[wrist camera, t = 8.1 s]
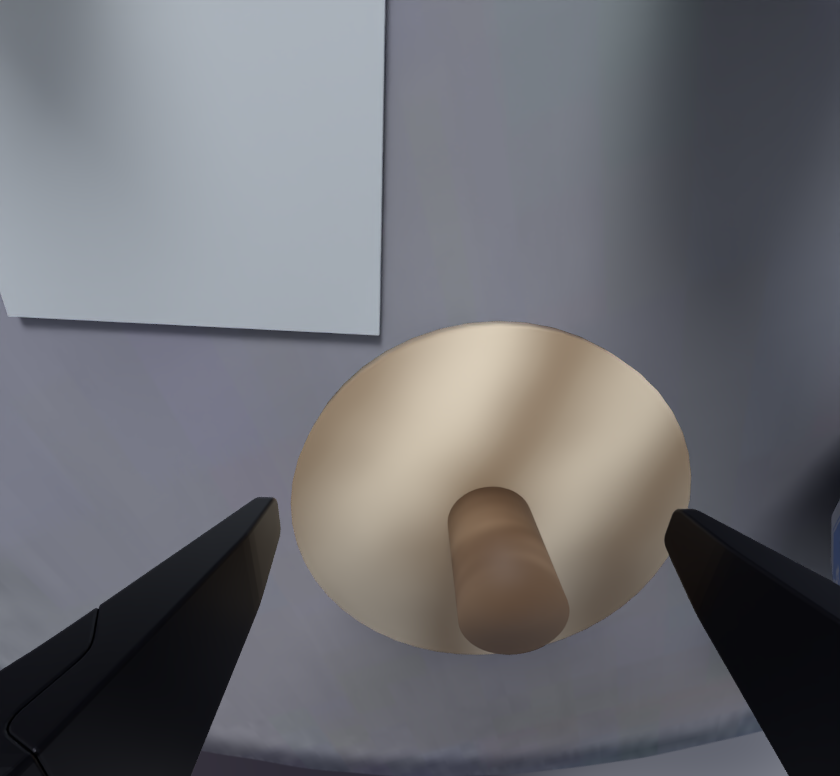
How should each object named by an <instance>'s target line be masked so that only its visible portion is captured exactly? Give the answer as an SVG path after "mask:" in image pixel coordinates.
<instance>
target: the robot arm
mask: <svg viewBox="0 0 840 776" xmlns="http://www.w3.org/2000/svg"><path fill="white" fill-rule="evenodd" d="M279 537H280V519H279V511H278V504H277V501H276V499H275V498H271V497H257V498H255V499H253V500H252V501H251V502H249V503H248V504H246V505H245V506H243V507H242V508H240V509H239V510H238V511H236V512H235V513H233V514H232V515H230V516H229V517H227V518H226V519H224V520H223V521H222V522H220V523H219V524H217V525H216V526H214V527H213V528H211V529H210V530H208V531H207V532H206V533H204V534H203V535H201V536H200V537H198V538H197V539H195V540H194V541H192V542H191V543H190V544H188V545H187V546H185V547H184V548H182V549H181V550H179V551H178V552H176V553H175V554H174V555H172V556H171V557H169V558H168V559H166V560H165V561H163V562H162V563H160V564H159V565H158V566H156V567H155V568H153V569H152V570H150V571H149V572H147V573H146V574H144V575H143V576H142V577H140V578H139V579H137V580H136V581H134V582H133V583H131V584H130V585H128V586H127V587H126V588H124V589H123V590H121V591H120V592H118V593H117V594H115V595H114V596H113V597H111V598H110V599H108V600H107V601H105V602H104V603H102V604H101V605H100V606H99V609H98V608H95V609H93V610H92V611H90V612H89V613H88V614H86V615H85V616H83V617H82V618H80V619H79V620H77V621H76V622H74V623H73V624H72V625H70V626H69V627H67V628H66V629H64V630H63V631H61V632H60V633H58V634H57V635H55V636H54V637H52V638H51V639H49V640H48V641H46V642H45V643H43V644H42V645H40V646H39V647H37V648H36V649H34V650H32V651H31V652H29V653H28V654H26V655H24V656H23V657H21V658H20V659H18V660H16V661H15V662H13V663H12V664H10V665H8V666H7V667H5V668H4V669H2V670H1V671H0V776H191V774H192V772H193V769H194V767H195V764H196V762H197V759H198V757H199V754H200V752H201V749H202V747H203V744H204V742H205V739H206V737H207V735H208V732H209V730H210V727H211V725H212V722H213V720H214V717H215V715H216V712H217V710H218V707H219V705H220V703H221V700H222V698H223V695H224V693H225V690H226V688H227V685H228V683H229V680H230V678H231V675H232V673H233V670H234V668H235V666H236V663H237V661H238V658H239V656H240V653H241V651H242V648H243V646H244V643H245V641H246V638H247V636H248V633H249V631H250V629H251V626H252V624H253V621H254V619H255V616H256V614H257V611H258V608H259V606H260V603H261V600H262V596H263V593H264V590H265V586H266V583H267V579H268V576H269V572H270V569H271V565H272V562H273V558H274V555H275V551H276V548H277V544H278V541H279ZM664 544H665V547H666V550H667V552H668V554H669V556H670V558H671V561H672V563H673V565H674V567H675V569H676V572H677V574H678V576H679V578H680V580H681V582H682V585H683V587H684V589H685V591H686V593H687V595H688V598H689V600H690V602H691V604H692V606H693V608H694V610H695V612H696V614H697V616H698V618H699V620H700V622H701V623H702V625H703V627H704V629H705V631H706V632H707V634H708V636H709V638H710V639H711V641H712V643H713V644H714V646H715V648H716V650H717V651H718V653H719V655H720V657H721V658H722V660H723V662H724V664H725V665H726V667H727V669H728V671H729V672H730V674H731V676H732V678H733V679H734V681H735V683H736V685H737V686H738V688H739V690H740V692H741V693H742V695H743V697H744V699H745V700H746V702H747V704H748V706H749V707H750V709H751V711H752V712H753V714H754V716H755V718H756V719H757V721H758V723H759V725H760V726H761V728H762V730H763V732H764V733H765V735H766V737H767V739H768V740H769V742H770V744H771V746H772V747H773V749H774V751H775V752H776V754H777V756H778V758H779V759H780V761H781V763H782V765H783V767H784V768H785V770H786V772H787V774H788V775H789V776H840V585H838V584H836V583H834V582H832V581H830V580H828V579H826V578H825V577H823V576H821V575H819V574H817V573H815V572H813V571H811V570H810V569H808V568H806V567H804V566H802V565H800V564H798V563H796V562H794V561H793V560H791V559H789V558H787V557H785V556H783V555H781V554H779V553H777V552H776V551H774V550H772V549H770V548H768V547H766V546H764V545H762V544H760V543H759V542H757V541H755V540H753V539H751V538H749V537H747V536H745V535H743V534H742V533H740V532H738V531H736V530H734V529H732V528H730V527H728V526H726V525H725V524H723V523H721V522H719V521H717V520H715V519H713V518H711V517H709V516H708V515H706V514H704V513H702V512H700V511H698V510H695V509H676V510H675V511H674V512H673V513H672V516H671V519H670V521H669V524H668V527H667V530H666V533H665V536H664Z"/></svg>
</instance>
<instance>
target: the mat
mask: <svg viewBox="0 0 840 776" xmlns="http://www.w3.org/2000/svg"><path fill="white" fill-rule="evenodd" d="M385 20H386V0H0V293H1V296H2V299H3V302H4V305H5V308H6V311H7V314H8V316H11V317H30V318H50V319H69V320H89V321H108V322H128V323H147V324H167V325H186V326H206V327H225V328H245V329H264V330H284V331H303V332H323V333H342V334H362V335H379V334H380V303H381V247H382V190H383V133H384V77H385Z"/></svg>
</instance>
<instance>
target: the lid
mask: <svg viewBox="0 0 840 776" xmlns="http://www.w3.org/2000/svg"><path fill="white" fill-rule="evenodd" d="M690 486H691V471H690V461H689V453H688V450H687V446H686V443H685V439H684V436H683V432H682V430H681V428H680V426H679V424H678V422H677V420H676V418H675V416H674V414H673V412H672V410H671V409H670V407H669V406H668V405H667V403H666V402H665V400H664V399H663V398H662V396H661V395H660V394H659V392H658V391H657V390H656V389H655V388H654V387H653V386H652V385H651V384H650V383H649V382H648V381H647V380H646V379H645V378H644V377H643V376H642V375H641V374H640V373H639V372H637V371H636V370H634V369H633V368H632V367H630V366H629V365H627V364H626V363H625V362H623V361H622V360H620V359H619V358H618V357H616V356H614V355H613V354H611V353H610V352H608V351H607V350H605V349H603V348H601V347H599V346H597V345H595V344H593V343H591V342H590V341H588V340H586V339H584V338H582V337H579V336H576V335H573V334H570V333H568V332H565V331H562V330H559V329H556V328H552V327H546V326H541V325H536V324H531V323H523V322H505V321H491V322H478V323H467V324H462V325H457V326H452V327H447V328H442V329H438V330H435V331H432V332H429V333H426V334H424V335H421V336H418V337H415V338H412V339H410V340H408V341H406V342H404V343H402V344H400V345H398V346H396V347H394V348H392V349H390V350H388V351H386V352H384V353H383V354H381V355H380V356H378V357H377V358H375V359H374V360H372V361H371V362H369V363H368V364H366V365H365V366H363V367H362V368H361V369H360V370H359V371H358V372H357V373H355V374H354V375H353V376H352V377H351V378H350V379H349V380H348V381H346V382H345V383H344V384H343V385H342V387H341V388H340V389H339V390H338V391H337V392H336V394H335V395H334V396H333V397H332V398H331V400H330V401H329V402H328V403H327V405H326V406H325V408H324V409H323V411H322V413H321V414H320V416H319V417H318V419H317V421H316V422H315V424H314V426H313V428H312V430H311V432H310V434H309V435H308V438H307V440H306V442H305V444H304V447H303V449H302V451H301V454H300V456H299V458H298V462H297V466H296V470H295V474H294V478H293V484H292V495H291V511H292V524H293V528H294V532H295V537H296V541H297V545H298V547H299V549H300V552H301V554H302V557H303V559H304V562H305V564H306V565H307V567H308V569H309V570H310V572H311V574H312V575H313V577H314V579H315V580H316V582H317V583H318V584H319V585H320V586H321V588H322V589H323V590H324V591H325V593H326V594H327V595H328V596H329V597H330V598H331V599H332V600H333V601H334V602H335V603H336V604H337V605H338V606H339V607H340V608H341V609H342V610H344V611H345V612H346V613H348V614H349V615H350V616H352V617H353V618H355V619H356V620H357V621H359V622H360V623H362V624H364V625H365V626H367V627H369V628H371V629H372V630H374V631H376V632H378V633H380V634H382V635H385V636H387V637H389V638H391V639H394V640H396V641H399V642H402V643H405V644H408V645H412V646H415V647H419V648H423V649H428V650H432V651H437V652H445V653H454V654H473V655H483V654H506V655H511V654H521V653H526V652H530V651H533V650H536V649H538V648H541V647H543V646H545V645H546V644H549V643H552V642H555V641H558V640H561V639H564V638H567V637H569V636H571V635H574V634H576V633H578V632H580V631H583V630H585V629H587V628H589V627H590V626H592V625H594V624H596V623H598V622H599V621H601V620H603V619H605V618H606V617H608V616H609V615H611V614H612V613H613V612H615V611H616V610H618V609H619V608H621V607H622V606H623V605H625V604H626V603H627V602H628V601H629V600H630V599H631V598H633V597H634V596H635V595H636V594H637V593H638V592H640V590H641V589H642V588H643V587H644V586H645V585H646V584H647V583H648V582H649V581H650V580H651V579H652V578H653V576H654V575H655V574H656V573H657V571H658V570H659V569H660V567H661V566H662V564H663V563H664V562H665V560H666V559H667V557H668V556H669V554H668V552H667V550H666V547H665V544H664V536H665V533H666V530H667V527H668V524H669V521H670V519H671V516H672V513H673V512H674V511H675V510H676V509H687V508H688V504H689V499H690Z"/></svg>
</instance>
